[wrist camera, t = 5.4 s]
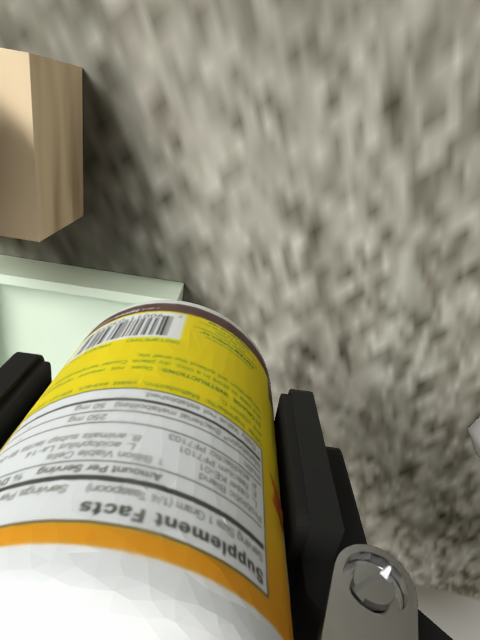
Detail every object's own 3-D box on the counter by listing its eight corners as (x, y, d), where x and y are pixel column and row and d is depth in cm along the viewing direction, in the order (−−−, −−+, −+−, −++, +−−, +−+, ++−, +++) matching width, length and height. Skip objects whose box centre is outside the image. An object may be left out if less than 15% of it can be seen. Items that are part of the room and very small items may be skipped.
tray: (184, 283, 28) (176, 300, 25) (168, 436, 34) (160, 464, 31) (-19, 251, 27) (-48, 266, 25) (0, 413, 33) (-22, 439, 30)
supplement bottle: (201, 477, 14) (107, 1160, 5) (49, 393, 13) (-479, 1111, 4) (311, 363, 12) (509, 1152, 3) (145, 249, 11) (-490, 1032, 2)
